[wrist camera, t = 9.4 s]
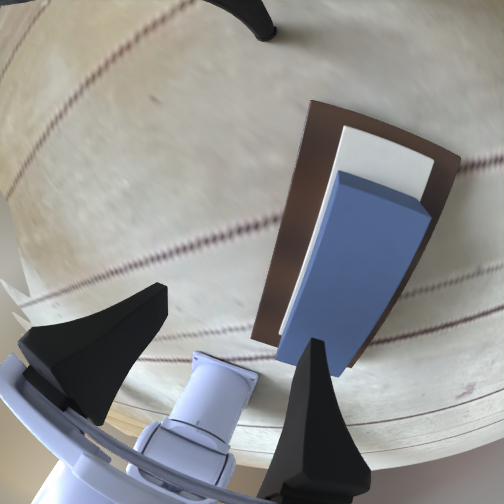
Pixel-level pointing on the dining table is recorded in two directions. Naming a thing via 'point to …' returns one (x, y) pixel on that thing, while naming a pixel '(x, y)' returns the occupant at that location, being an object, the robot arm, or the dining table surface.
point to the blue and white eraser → (357, 247)
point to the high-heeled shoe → (238, 4)
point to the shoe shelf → (311, 198)
